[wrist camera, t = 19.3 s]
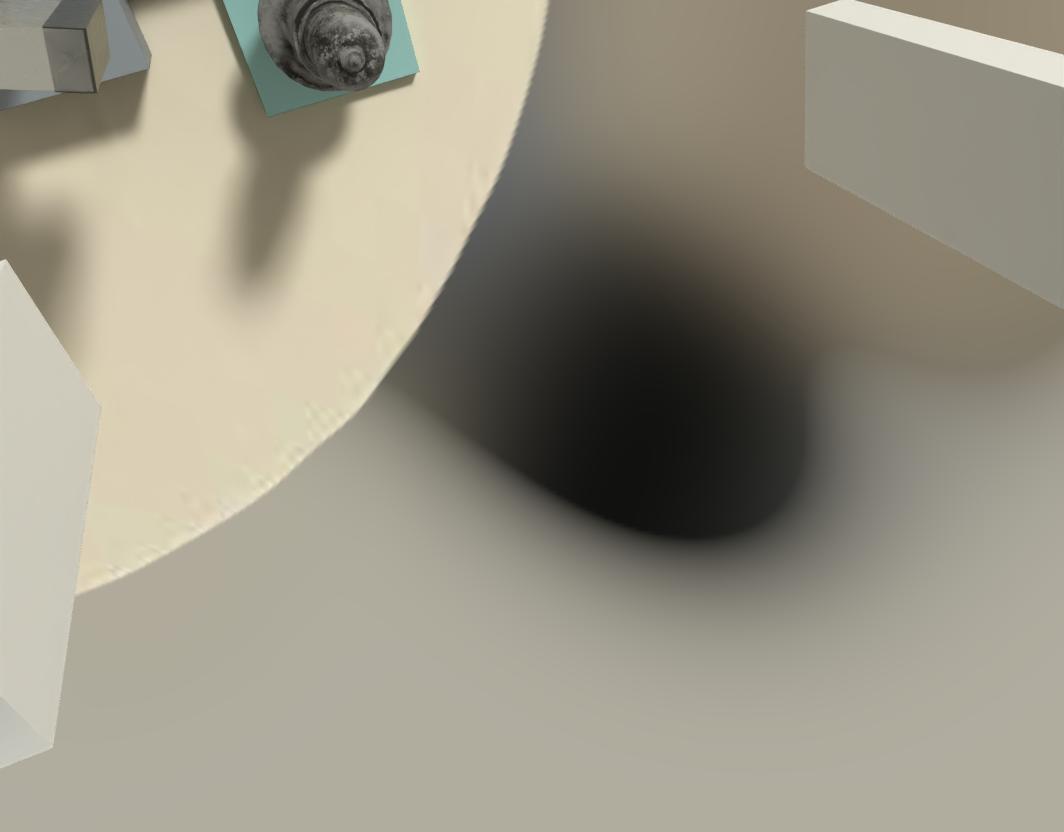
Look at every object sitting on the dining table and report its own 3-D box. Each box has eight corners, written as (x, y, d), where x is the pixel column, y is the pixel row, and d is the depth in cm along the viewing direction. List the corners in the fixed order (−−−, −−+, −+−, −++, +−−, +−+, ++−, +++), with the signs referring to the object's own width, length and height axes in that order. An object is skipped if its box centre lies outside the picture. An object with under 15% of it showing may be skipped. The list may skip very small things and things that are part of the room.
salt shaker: (335, 99, 43) (376, 174, 34) (227, 21, 40) (240, 80, 30) (402, -2, 41) (465, 47, 32) (297, -92, 38) (333, -66, 29)
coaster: (199, -63, 38) (199, -62, 37) (370, -108, 39) (372, -107, 39) (266, 114, 43) (267, 117, 42) (417, 69, 44) (419, 72, 43)
